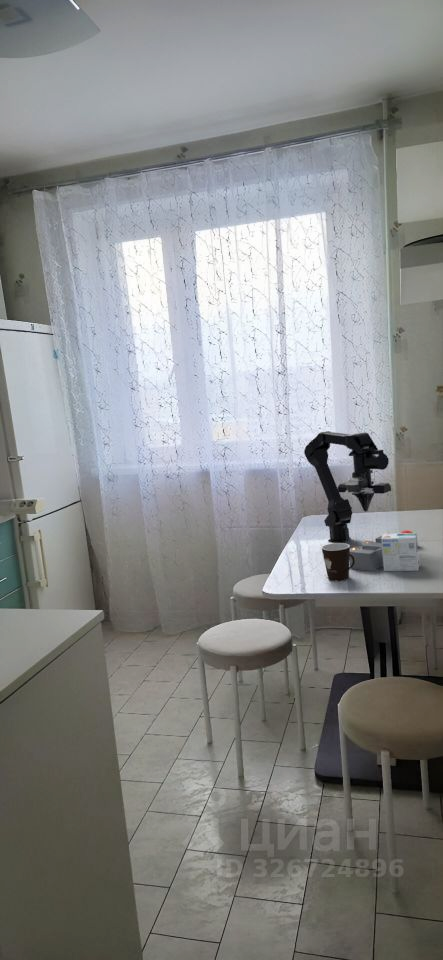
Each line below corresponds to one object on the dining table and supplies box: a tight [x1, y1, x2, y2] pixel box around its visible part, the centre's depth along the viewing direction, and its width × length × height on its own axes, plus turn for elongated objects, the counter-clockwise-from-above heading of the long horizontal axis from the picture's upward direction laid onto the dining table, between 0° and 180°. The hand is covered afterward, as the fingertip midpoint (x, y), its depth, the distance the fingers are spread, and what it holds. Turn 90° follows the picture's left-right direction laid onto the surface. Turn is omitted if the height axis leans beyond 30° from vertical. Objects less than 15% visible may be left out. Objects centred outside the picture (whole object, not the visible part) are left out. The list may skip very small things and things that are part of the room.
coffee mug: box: [321, 542, 355, 582], centre depth 196 cm, size 12×9×10 cm
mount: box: [349, 535, 383, 572], centre depth 211 cm, size 8×21×6 cm, turn 137°
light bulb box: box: [381, 532, 420, 572], centre depth 200 cm, size 11×7×11 cm, turn 71°
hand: (365, 511), depth 229 cm, fingers closed
